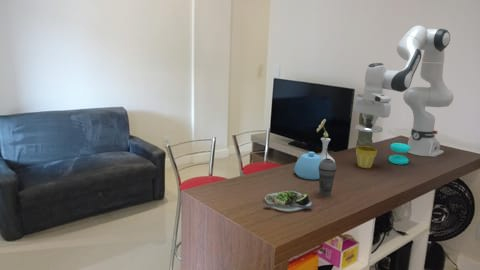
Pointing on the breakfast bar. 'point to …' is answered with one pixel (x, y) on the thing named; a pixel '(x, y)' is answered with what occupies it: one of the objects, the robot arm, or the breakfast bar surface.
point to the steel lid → (368, 127)
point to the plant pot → (365, 156)
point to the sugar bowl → (308, 166)
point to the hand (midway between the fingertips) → (369, 123)
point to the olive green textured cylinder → (364, 133)
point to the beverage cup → (326, 176)
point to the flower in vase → (324, 143)
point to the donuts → (399, 158)
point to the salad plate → (288, 201)
